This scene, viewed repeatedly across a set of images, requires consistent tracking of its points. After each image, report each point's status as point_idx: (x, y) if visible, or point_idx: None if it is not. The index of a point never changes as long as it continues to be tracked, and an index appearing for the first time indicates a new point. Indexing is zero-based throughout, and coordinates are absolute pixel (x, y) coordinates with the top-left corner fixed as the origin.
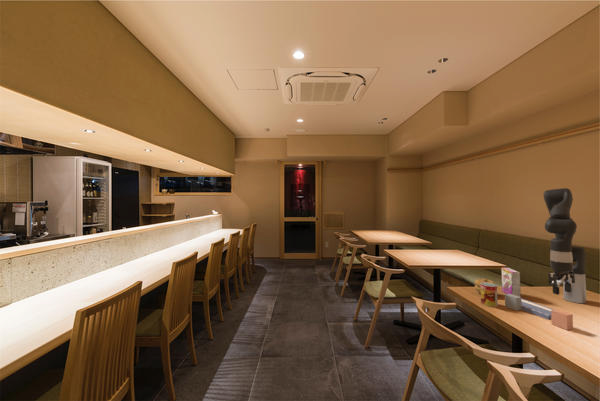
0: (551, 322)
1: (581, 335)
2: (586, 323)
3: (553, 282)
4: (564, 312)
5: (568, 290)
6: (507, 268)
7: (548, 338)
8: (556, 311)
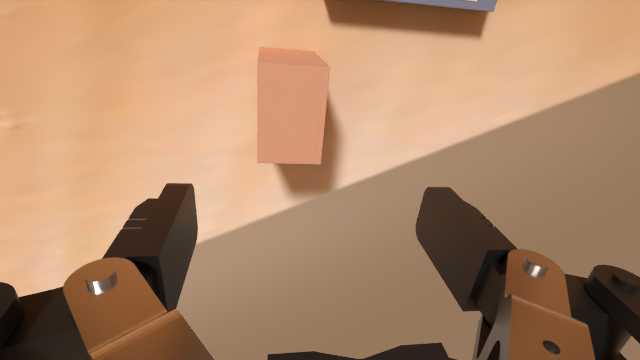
0: (259, 48)
1: (264, 177)
2: (460, 114)
3: (96, 338)
4: (306, 127)
5: (428, 229)
6: None
7: (36, 145)
8: (266, 96)
